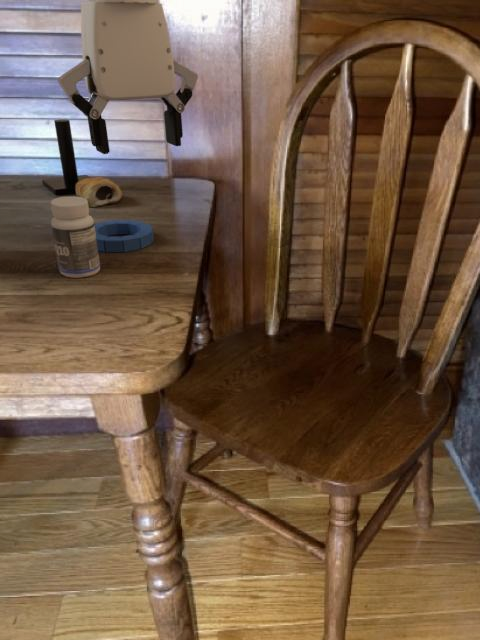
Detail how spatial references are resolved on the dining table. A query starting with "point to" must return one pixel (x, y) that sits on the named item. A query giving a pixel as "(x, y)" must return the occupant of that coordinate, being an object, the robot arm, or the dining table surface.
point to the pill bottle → (74, 237)
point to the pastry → (98, 191)
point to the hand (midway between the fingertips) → (139, 148)
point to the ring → (135, 240)
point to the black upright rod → (65, 162)
